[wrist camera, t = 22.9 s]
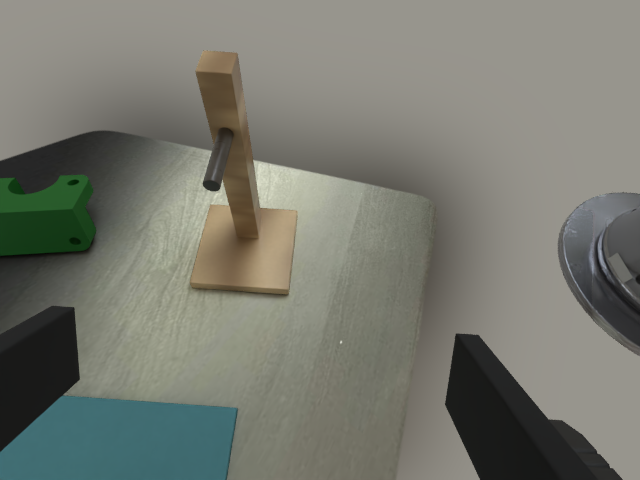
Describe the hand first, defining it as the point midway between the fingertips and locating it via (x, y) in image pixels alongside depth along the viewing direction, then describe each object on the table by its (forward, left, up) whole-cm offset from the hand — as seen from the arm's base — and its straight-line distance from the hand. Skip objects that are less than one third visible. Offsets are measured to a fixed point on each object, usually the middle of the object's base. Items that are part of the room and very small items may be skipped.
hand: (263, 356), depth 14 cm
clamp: (+33, -9, -24) cm, 42 cm away
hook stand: (+11, -15, -24) cm, 30 cm away
